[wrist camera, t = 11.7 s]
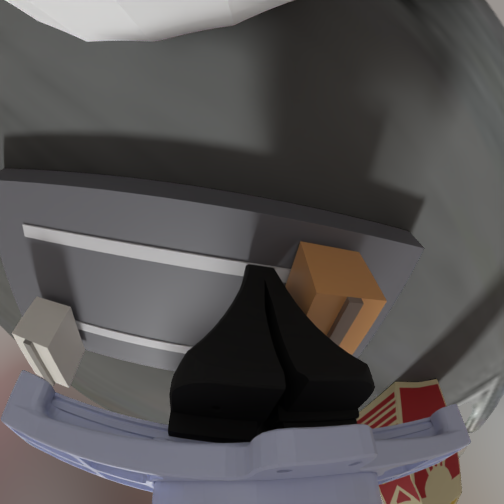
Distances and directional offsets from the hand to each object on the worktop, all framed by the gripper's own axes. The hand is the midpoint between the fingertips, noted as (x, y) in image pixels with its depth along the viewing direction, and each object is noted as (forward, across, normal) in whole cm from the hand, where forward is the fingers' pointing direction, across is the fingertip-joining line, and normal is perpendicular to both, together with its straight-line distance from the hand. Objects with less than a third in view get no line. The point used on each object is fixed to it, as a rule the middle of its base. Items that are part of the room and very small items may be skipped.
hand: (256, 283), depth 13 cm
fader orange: (0, -3, 0) cm, 3 cm away
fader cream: (0, +12, +7) cm, 14 cm away
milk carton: (+3, -22, +18) cm, 28 cm away
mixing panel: (+3, +4, +4) cm, 6 cm away
